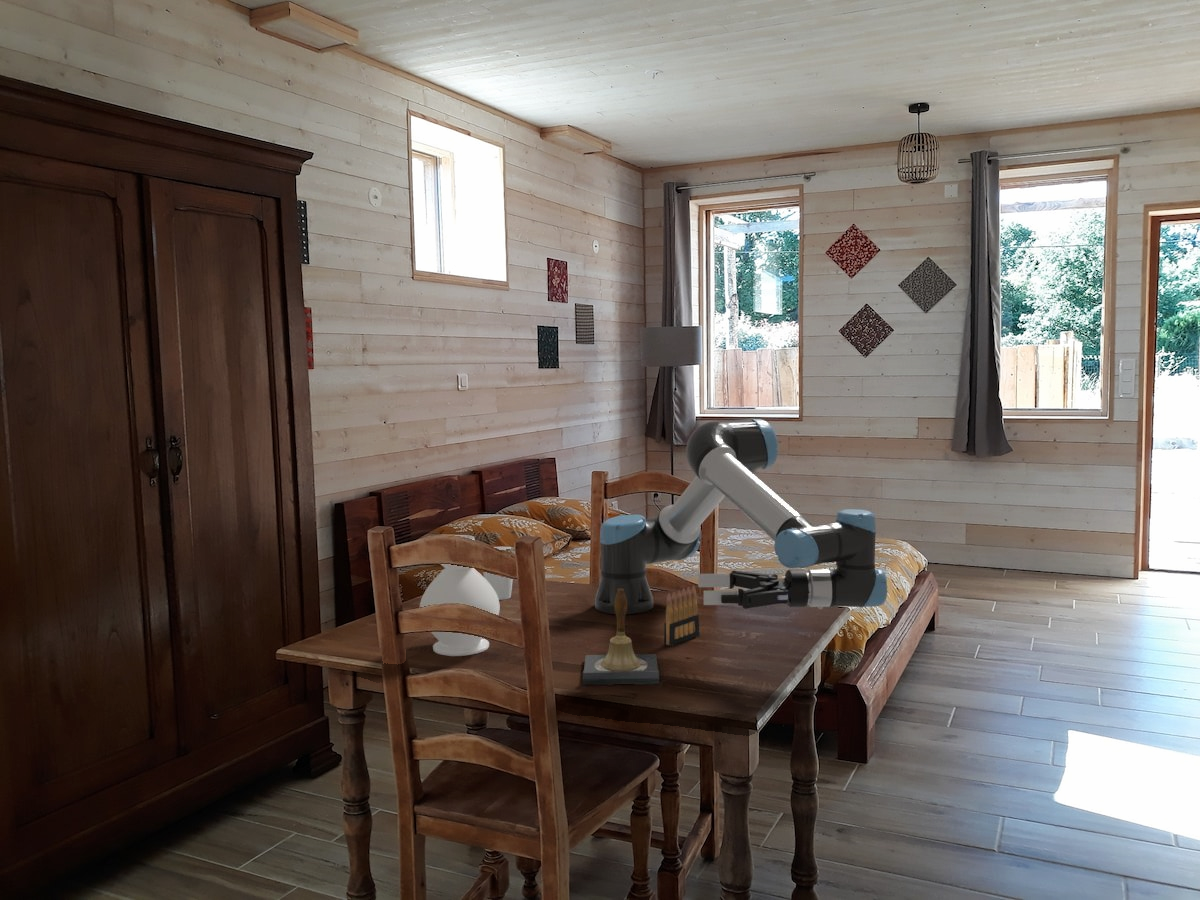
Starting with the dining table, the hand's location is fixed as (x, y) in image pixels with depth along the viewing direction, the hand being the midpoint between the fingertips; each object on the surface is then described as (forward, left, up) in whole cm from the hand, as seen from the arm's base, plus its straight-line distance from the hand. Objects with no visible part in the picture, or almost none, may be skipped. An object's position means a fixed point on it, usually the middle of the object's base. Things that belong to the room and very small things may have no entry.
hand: (700, 588), depth 188 cm
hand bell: (-2, -16, -16) cm, 23 cm away
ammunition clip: (-22, -2, -18) cm, 29 cm away
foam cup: (-63, -49, -18) cm, 82 cm away
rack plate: (-1, -16, -18) cm, 24 cm away
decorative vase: (-19, -52, -18) cm, 59 cm away
